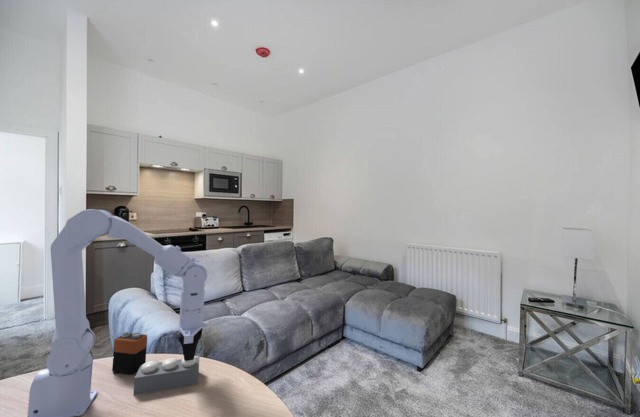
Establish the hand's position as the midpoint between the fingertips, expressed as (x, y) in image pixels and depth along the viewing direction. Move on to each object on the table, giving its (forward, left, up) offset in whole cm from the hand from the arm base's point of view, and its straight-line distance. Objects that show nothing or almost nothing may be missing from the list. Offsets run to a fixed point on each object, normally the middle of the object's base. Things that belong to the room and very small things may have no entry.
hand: (189, 359), depth 71 cm
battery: (-16, +9, -5) cm, 19 cm away
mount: (-5, 0, -5) cm, 7 cm away
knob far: (0, 0, -5) cm, 5 cm away
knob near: (-9, 0, -5) cm, 10 cm away
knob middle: (-5, 0, -5) cm, 7 cm away
